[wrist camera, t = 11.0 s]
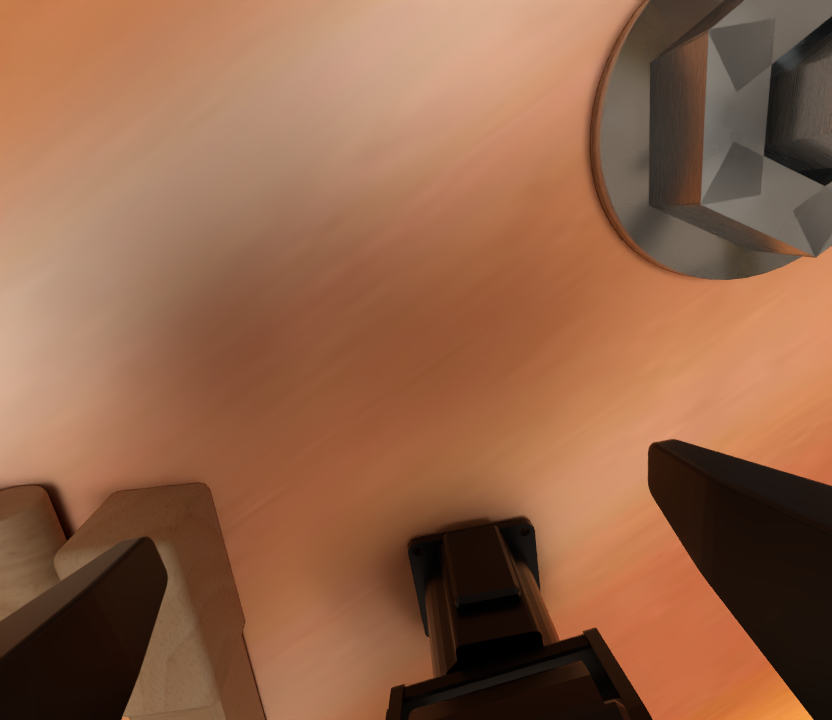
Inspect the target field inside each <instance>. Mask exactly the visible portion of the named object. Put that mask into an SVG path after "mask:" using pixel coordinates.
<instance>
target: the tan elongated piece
mask: <svg viewBox="0 0 832 720" xmlns="http://www.w3.org/2000/svg"><path fill="white" fill-rule="evenodd" d="M764 156H765V157H767V158H769V159H771V160H773V161H775V162H777V163H779V164H781V165H783V166H785V167H787V168H789V169H791V170H793V171H803V170H813V169H823V168H832V32H831V33H828V34H826V35H823V36H821V37H818V38H816V39H813V40H811V41H808V42H806V43H803V44H801V45H798V46H796V47H793V48H791V49H790V50H789V51H788V52H787V53H785V54H784V55H783V56H782V57H780V58H779V59H778V60H777V61H775V62H774V63H773V64H772V65H771V77H770V89H769V100H768V112H767V123H766V135H765V146H764Z"/></svg>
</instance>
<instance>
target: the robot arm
mask: <svg viewBox="0 0 832 720" xmlns="http://www.w3.org/2000/svg"><path fill="white" fill-rule="evenodd" d="M648 486H649V489H650V492H651V494H652V496H653V498H654V500H655V501H656V503H657V504H658V506H659V508H660V509H661V511H662V512H663V514H664V516H665V517H666V519H667V520H668V522H669V524H670V525H671V527H672V528H673V530H674V532H675V533H676V535H677V536H678V538H679V540H680V541H681V543H682V544H683V546H684V548H685V549H686V551H687V552H688V554H689V556H690V557H691V559H692V560H693V562H694V563H695V565H696V566H697V568H698V569H699V571H700V572H701V574H702V575H703V576H704V578H705V579H706V580H707V582H708V583H709V584H710V586H711V587H712V588H713V590H714V591H715V592H716V594H717V595H718V596H719V597H720V599H721V600H722V601H723V603H724V604H725V605H726V607H727V608H728V609H729V610H730V612H731V613H732V614H733V616H734V617H735V618H736V620H737V621H738V622H739V623H740V625H741V626H742V627H743V629H744V630H745V631H746V632H747V634H748V635H749V636H750V638H751V639H752V640H753V642H754V643H755V644H756V645H757V647H758V648H759V649H760V651H761V652H762V653H763V655H764V656H765V657H766V658H767V660H768V661H769V662H770V664H771V665H772V666H773V668H774V669H775V670H776V671H777V673H778V674H779V675H780V677H781V678H782V679H783V680H784V682H785V683H786V684H787V686H788V687H789V688H790V690H791V691H792V692H793V693H794V695H795V696H796V697H797V699H798V700H799V701H800V703H801V704H802V705H803V706H804V708H805V709H806V710H807V712H808V713H809V714H810V715H811V717H812V718H813V719H814V720H832V486H830V485H827V484H824V483H820V482H817V481H813V480H810V479H807V478H803V477H800V476H797V475H793V474H790V473H787V472H783V471H780V470H777V469H773V468H770V467H766V466H763V465H760V464H756V463H753V462H750V461H746V460H743V459H740V458H736V457H733V456H730V455H726V454H723V453H719V452H716V451H713V450H709V449H706V448H703V447H699V446H696V445H693V444H689V443H686V442H683V441H679V440H675V439H670V440H665V441H660V442H654V443H652V444H651V445H650V447H649V450H648ZM523 528H527V529H526V530H524V531H521V530H522V529H523ZM415 548H421V549H420V550H415ZM408 555H409V559H410V564H411V569H412V573H413V578H414V583H415V588H416V592H417V597H418V602H419V606H420V611H421V616H422V621H423V625H424V630H425V634H426V636H427V637H429V639H430V649H431V658H432V667H433V676H434V678H432V679H429V680H426V681H422V682H419V683H415V684H412V685H409V686H405V684H403V685H399V686H396V687H393V688H391V693H390V701H389V709H387V713H386V720H653V719H652V718H651V716H650V714H649V712H648V711H647V709H646V707H645V705H644V704H643V702H642V701H641V699H640V697H639V696H638V694H637V693H636V691H635V689H634V688H633V686H632V685H631V683H630V681H629V680H628V678H627V676H626V675H625V673H624V672H623V670H622V668H621V667H620V665H619V664H618V662H617V660H616V659H615V657H614V656H613V654H612V652H611V651H610V649H609V648H608V646H607V644H606V643H605V641H604V640H603V638H602V636H601V635H600V633H599V632H598V630H597V628H592V629H589V630H585V631H583V634H581V635H578V636H575V637H571V638H568V639H564V640H561V641H560V640H559V637H558V635H557V632H556V630H555V627H554V625H553V622H552V620H551V618H550V615H549V613H548V610H547V608H546V605H545V603H544V601H543V598H542V596H541V593H540V583H539V572H538V561H537V551H536V540H535V530H534V527H533V525H532V523H531V522H530V521H529V520H528V519H518V520H513V521H507V522H502V523H497V524H491V525H486V526H480V527H475V528H469V529H464V530H459V531H453V532H448V533H442V534H437V535H431V536H426V537H421V538H415V539H413V540H411V541H410V542H409V544H408ZM167 583H168V574H167V570H166V567H165V565H164V563H163V561H162V558H161V556H160V554H159V552H158V549H157V547H156V545H155V543H154V541H153V539H152V538H150V537H148V536H140V537H135V538H129V539H125V540H122V541H120V542H119V543H117V544H116V545H114V546H113V547H111V548H110V549H108V550H107V551H105V552H104V553H102V554H101V555H99V556H98V557H96V558H95V559H93V560H92V561H90V562H89V563H87V564H86V565H84V566H83V567H81V568H80V569H78V570H77V571H75V572H74V573H72V574H70V575H69V576H67V577H66V578H64V579H63V580H61V581H60V582H58V583H57V584H55V585H54V586H52V587H51V588H49V589H48V590H46V591H45V592H43V593H42V594H40V595H39V596H37V597H36V598H34V599H33V600H31V601H30V602H28V603H27V604H25V605H24V606H22V607H21V608H19V609H18V610H16V611H15V612H13V613H12V614H10V615H9V616H7V617H5V618H4V619H2V620H1V621H0V720H121V719H122V716H123V714H124V712H125V709H126V707H127V704H128V702H129V699H130V697H131V695H132V692H133V689H134V687H135V684H136V682H137V679H138V676H139V673H140V670H141V667H142V665H143V662H144V659H145V655H146V652H147V649H148V646H149V642H150V639H151V636H152V633H153V630H154V626H155V623H156V620H157V617H158V614H159V610H160V607H161V604H162V601H163V597H164V594H165V591H166V588H167Z"/></svg>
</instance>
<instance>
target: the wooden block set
mask: <svg viewBox="0 0 832 720" xmlns="http://www.w3.org/2000/svg"><path fill="white" fill-rule="evenodd" d="M140 536H148V537H150V538H152V539H153V541H154V543H155V545H156V547H157V549H158V552H159V554H160V556H161V558H162V561H163V563H164V565H165V567H166V570H167V574H168V583H167V588H166V591H165V594H164V597H163V601H162V604H161V607H160V610H159V614H158V617H157V620H156V623H155V626H154V630H153V633H152V636H151V639H150V642H149V646H148V649H147V652H146V655H145V659H144V662H143V665H142V667H141V670H140V673H139V676H138V679H137V682H136V684H135V687H134V689H133V692H132V695H131V697H130V699H129V702H128V704H127V707H126V709H125V712H124V714H123V716H124V717H129V719H130V720H265V718H264V714H263V711H262V707H261V703H260V700H259V696H258V692H257V689H256V685H255V681H254V678H253V674H252V671H251V667H250V663H249V660H248V656H247V652H246V649H245V645H244V641H243V638H242V631H243V628H244V624H245V619H244V615H243V611H242V608H241V604H240V600H239V596H238V593H237V589H236V585H235V581H234V578H233V574H232V570H231V566H230V563H229V559H228V555H227V552H226V548H225V544H224V540H223V537H222V533H221V529H220V525H219V522H218V518H217V514H216V511H215V507H214V503H213V499H212V496H211V492H210V489H209V488H208V487H207V485H206V484H202V483H191V484H182V485H173V486H163V487H154V488H145V489H135V490H126V491H118V492H116V493H114V494H112V495H111V496H110V497H109V498H108V499H107V500H106V501H105V502H104V503H103V504H102V505H101V506H100V507H99V508H98V509H97V510H96V511H95V512H94V513H93V515H92V516H91V517H90V518H89V519H88V520H87V521H86V522H85V523H84V524H83V525H82V526H81V527H80V528H79V529H78V530H77V531H76V532H75V534H74V535H73V536H72V537H71V538H70V539H69V540H68V541H67V540H66V537H65V535H64V532H63V530H62V527H61V525H60V523H59V520H58V518H57V515H56V513H55V510H54V508H53V505H52V503H51V501H50V498H49V496H48V493H47V491H46V490H45V489H43V488H42V487H40V486H36V485H26V486H19V487H14V488H10V489H6V490H3V491H0V621H1V620H2V619H4V618H5V617H7V616H9V615H10V614H12V613H13V612H15V611H16V610H18V609H19V608H21V607H22V606H24V605H25V604H27V603H28V602H30V601H31V600H33V599H34V598H36V597H37V596H39V595H40V594H42V593H43V592H45V591H46V590H48V589H49V588H51V587H52V586H54V585H55V584H57V583H58V582H60V581H61V580H63V579H64V578H66V577H67V576H69V575H70V574H72V573H74V572H75V571H77V570H78V569H80V568H81V567H83V566H84V565H86V564H87V563H89V562H90V561H92V560H93V559H95V558H96V557H98V556H99V555H101V554H102V553H104V552H105V551H107V550H108V549H110V548H111V547H113V546H114V545H116V544H117V543H119V542H120V541H122V540H125V539H129V538H135V537H140Z"/></svg>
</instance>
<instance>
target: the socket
mask: <svg viewBox="0 0 832 720" xmlns="http://www.w3.org/2000/svg"><path fill="white" fill-rule="evenodd" d="M831 32H832V0H645V1H644V2H643V3H642V5H641V6H640V7H639V8H638V10H637V11H636V12H635V13H634V15H633V16H632V18H631V19H630V21H629V22H628V24H627V25H626V27H625V29H624V30H623V32H622V33H621V35H620V37H619V39H618V41H617V43H616V45H615V47H614V49H613V51H612V53H611V55H610V57H609V59H608V61H607V64H606V67H605V69H604V72H603V75H602V77H601V80H600V83H599V87H598V91H597V95H596V99H595V103H594V109H593V116H592V123H591V141H590V152H591V163H592V172H593V176H594V181H595V186H596V190H597V193H598V196H599V198H600V201H601V204H602V207H603V209H604V211H605V213H606V215H607V217H608V219H609V220H610V222H611V224H612V226H613V227H614V228H615V230H616V231H617V232H618V234H619V235H620V237H621V238H622V239H623V240H624V241H625V242H626V243H627V244H628V245H629V246H630V247H631V248H632V249H633V250H634V251H635V252H637V253H638V254H639V255H641V256H642V257H643V258H645V259H646V260H647V261H649V262H651V263H653V264H655V265H657V266H659V267H661V268H664V269H667V270H670V271H673V272H676V273H679V274H684V275H689V276H693V277H699V278H705V279H716V280H731V279H740V278H747V277H751V276H755V275H760V274H764V273H767V272H769V271H772V270H775V269H777V268H780V267H783V266H785V265H787V264H789V263H791V262H793V261H794V260H796V259H798V258H800V257H802V256H805V257H814V258H815V257H817V256H818V255H820V254H821V253H822V252H824V251H825V250H827V249H828V248H829V247H831V246H832V168H823V169H813V170H803V171H793V170H791V169H789V168H787V167H785V166H783V165H781V164H779V163H777V162H775V161H773V160H771V159H769V158H767V157H765V156H764V146H765V135H766V123H767V112H768V100H769V89H770V77H771V65H772V64H773V63H774V62H775V61H777V60H778V59H779V58H780V57H782V56H783V55H784V54H785V53H787V52H788V51H789V50H790V49H791V48H793V47H796V46H798V45H801V44H803V43H806V42H808V41H811V40H813V39H816V38H818V37H821V36H823V35H826V34H828V33H831Z"/></svg>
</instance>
